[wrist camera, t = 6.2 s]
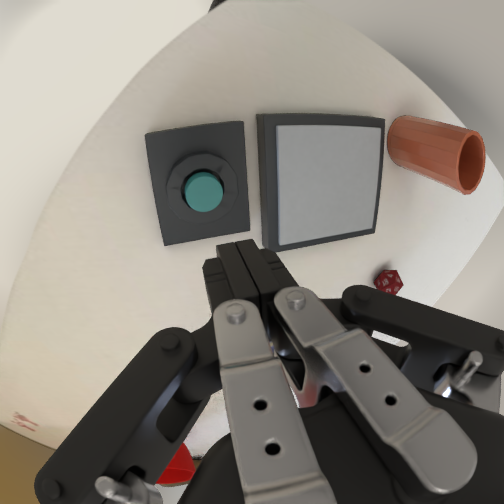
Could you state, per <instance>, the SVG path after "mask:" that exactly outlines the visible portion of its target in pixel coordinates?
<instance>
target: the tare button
mask: <svg viewBox="0 0 504 504" xmlns="http://www.w3.org/2000/svg"><path fill="white" fill-rule="evenodd" d="M185 195H186V200H187V202H188V204H189V206H190V207H191V208H193V209H194V210H196V211H199V212H207V211H211V210H213V209H214V208H216V207H217V206H218V205H219V204H220V202H221V200H222V197H223V189H222V186H221V184H220V183H219V181H218V180H217V178H216V177H215V176H214V175H212V174H210V173H207V172H199V173H196V174H194V175H193V176H191V177H190V178H189V179H188V181H187V183H186V185H185Z"/></svg>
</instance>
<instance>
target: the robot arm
mask: <svg viewBox="0 0 504 504" xmlns="http://www.w3.org/2000/svg"><path fill="white" fill-rule="evenodd" d="M216 252H217V258H212V259H206V260H205V263H204V265H203V267H202V269H203V274H204V280H205V285H206V290H207V296H208V300H209V304H210V308H211V313H212V316H211V318H210V320H209V321H208V323H207V324H206V325H204V326H203V327H202V328H200V329H198V330H196V331H194V332H192V333H190V332H189V331H187V330H185V329H183V328H178V327H171V328H166V329H163V330H161V331H159V332H157V333H156V334H155V335H154V336H153V337H152V338H151V339H150V340H149V341H148V342H147V343H146V344H145V346H144V347H143V348H142V349H141V350H140V351H139V353H138V354H137V355H136V356H135V357H134V358H133V359H132V361H131V362H130V363H129V364H128V365H127V366H126V368H125V369H124V370H123V371H122V372H121V373H120V375H119V376H118V377H117V378H116V379H115V380H114V382H113V383H112V384H111V385H110V386H109V387H108V389H107V390H106V391H105V392H104V393H103V394H102V396H101V397H100V398H99V399H98V400H97V402H96V403H95V404H94V405H93V406H92V407H91V409H90V410H89V411H88V412H87V413H86V415H85V416H84V417H83V418H82V419H81V421H80V422H79V423H78V424H77V425H76V427H75V428H74V429H73V430H72V431H71V433H70V434H69V435H68V436H67V438H66V439H65V440H64V441H63V442H62V444H61V445H60V446H59V447H58V449H57V450H56V451H55V452H54V454H53V455H52V456H51V457H50V458H49V460H48V461H47V462H46V464H45V465H44V466H43V467H42V469H41V470H40V471H39V472H38V474H37V476H36V478H35V483H34V488H35V494H36V496H37V498H38V501H39V502H40V504H163V500H162V496H161V494H160V492H159V491H158V489H157V488H156V487H155V486H154V485H155V484H156V482H157V481H158V479H159V478H160V476H161V475H162V473H163V472H164V470H165V469H166V467H167V466H168V464H169V463H170V461H171V460H172V458H173V457H174V455H175V454H176V452H177V451H178V449H179V447H180V446H181V444H182V443H183V441H184V440H185V438H186V437H187V435H188V433H189V432H190V430H191V429H192V427H193V426H194V424H195V422H196V421H197V419H198V418H199V416H200V414H201V413H202V411H203V410H204V408H205V406H206V405H207V403H208V401H209V399H210V397H211V395H212V394H213V393H215V392H217V391H219V390H221V389H223V394H224V400H225V406H226V411H227V417H228V422H229V427H230V433H228V434H227V435H225V436H224V437H222V438H221V439H220V440H218V441H217V442H216V443H215V444H214V445H213V446H212V447H211V448H210V449H209V450H208V452H207V453H206V454H205V456H204V457H203V459H202V460H201V462H200V464H199V466H198V468H197V470H196V471H195V473H194V475H193V477H192V479H191V480H190V482H189V484H188V486H187V487H186V489H185V491H184V493H183V494H182V496H181V498H180V500H179V501H178V503H177V504H504V416H503V415H501V414H499V407H500V393H501V374H502V372H503V371H504V331H503V330H500V329H497V328H494V327H491V326H488V325H485V324H482V323H479V322H475V321H473V320H469V319H466V318H463V317H460V316H457V315H454V314H451V313H448V312H445V311H442V310H439V309H436V308H433V307H430V306H427V305H424V304H421V303H418V302H415V301H411V300H408V299H405V298H402V297H399V296H396V295H393V294H390V293H387V292H384V291H381V290H378V289H375V288H371V287H368V286H364V285H354V286H350V287H348V288H346V289H345V290H344V292H343V294H342V298H339V299H320V298H318V297H317V296H316V294H315V293H314V292H312V291H311V290H309V289H307V288H304V287H299V285H298V284H297V282H296V281H295V280H294V278H293V277H292V275H291V274H290V273H289V271H288V270H287V268H285V265H284V264H283V263H282V262H281V260H280V258H279V257H278V256H277V254H276V253H275V252H273V251H271V250H269V249H268V248H265V249H259V248H258V247H257V245H256V244H255V242H254V240H253V239H248V240H243V241H237V242H235V243H234V242H232V243H226V244H221V245H216ZM374 330H375V331H378V332H381V333H384V334H387V335H389V336H392V337H395V338H398V339H401V340H404V341H406V342H408V343H409V344H408V345H407V346H404V347H399V346H396V345H393V344H390V343H387V342H384V341H381V340H379V339H376V338H373V337H371V336H372V334H373V331H374ZM269 342H272V344H273V346H274V355H273V352H272V349H271V346H270V343H269ZM289 384H290V385H289ZM290 386H291V388H292V390H293V391H294V393H295V395H296V397H297V399H298V402H299V407H300V408H298V407H297V405H296V402H295V399H294V396H293V393H292V391H291V388H290Z"/></svg>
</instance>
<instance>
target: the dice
mask: <svg viewBox="0 0 504 504" xmlns="http://www.w3.org/2000/svg"><path fill="white" fill-rule="evenodd" d="M374 284H375V286H376V288H377V289H378V290H381V291H384V292H387V293H390V294H393V295H396V294H397V293H398V291H399V290H400V289H401V288H402V286H403V283H402V281H401V279H400V276H399V274H398V272H397V270H383V272H382V273H381V274H380V275H379V276H378V278H377V279H376V280H375V281H374Z"/></svg>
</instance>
